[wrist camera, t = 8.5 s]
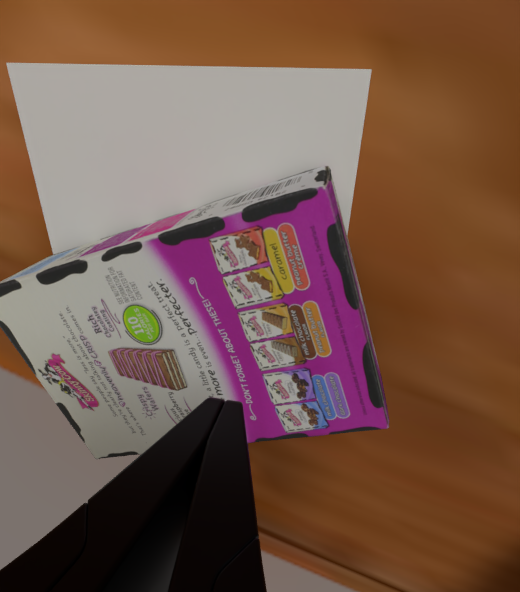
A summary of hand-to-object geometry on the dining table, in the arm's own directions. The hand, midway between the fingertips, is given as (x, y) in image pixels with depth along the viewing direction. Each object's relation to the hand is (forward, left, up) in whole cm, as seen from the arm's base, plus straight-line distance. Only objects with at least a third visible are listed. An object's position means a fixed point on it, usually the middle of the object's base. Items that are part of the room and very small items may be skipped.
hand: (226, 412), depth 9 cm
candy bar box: (-4, +1, -8) cm, 9 cm away
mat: (+5, 0, -11) cm, 12 cm away
